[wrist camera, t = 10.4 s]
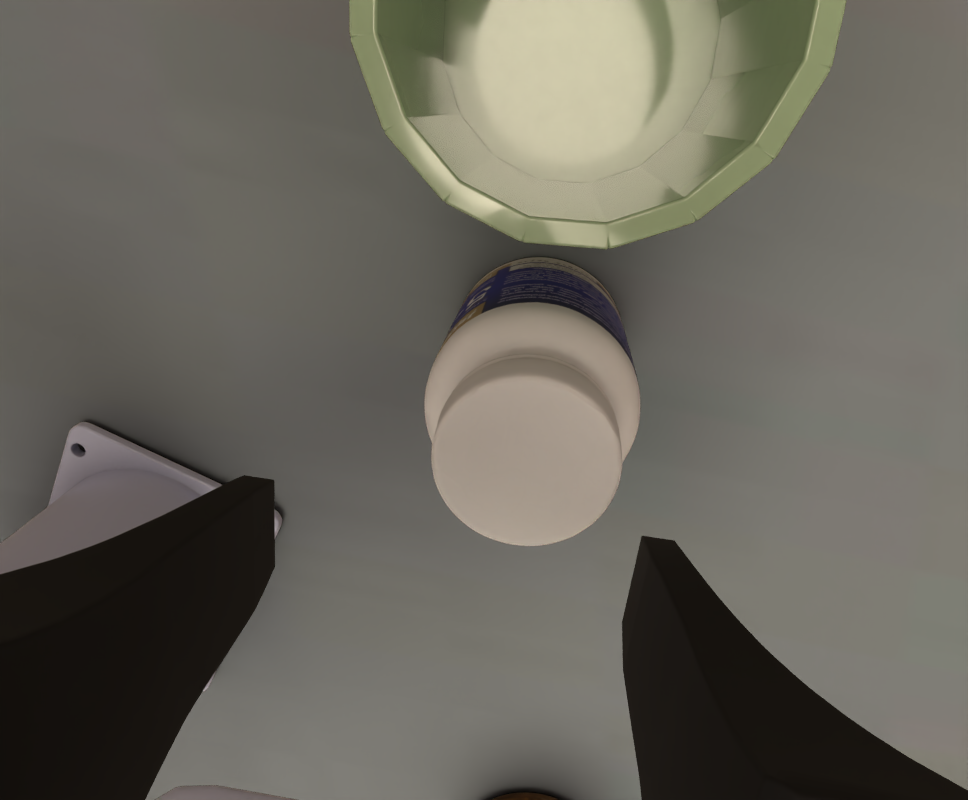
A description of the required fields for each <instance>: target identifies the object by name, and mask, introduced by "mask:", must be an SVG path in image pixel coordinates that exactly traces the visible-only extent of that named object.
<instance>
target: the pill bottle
mask: <svg viewBox="0 0 968 800" xmlns="http://www.w3.org/2000/svg"><path fill="white" fill-rule="evenodd" d="M424 408H425V420H426V425H427V430H428V433H429V436H430V439H431V441H432V450H431V462H432V471H433V476H434V480H435V483H436V486H437V488H438V490H439V492H440V495H441V497H442V498H443V500H444V501H445V503H446V505H447V506H448V508H449V509H450V510H451V511H452V512H453V514H454V515H456V516H457V517H458V518H459V519H460V520H461V521H462V522H463V523H464V524H466V525H467V526H468V527H470V528H471V529H473V530H474V531H476V532H478V533H479V534H482V535H484V536H486V537H488V538H491V539H493V540H496V541H500V542H502V543H507V544H513V545H522V546H537V545H546V544H551V543H555V542H559V541H562V540H565V539H568V538H570V537H572V536H574V535H576V534H578V533H580V532H581V531H583V530H584V529H586V528H587V527H589V526H590V525H591V524H593V523H594V522H595V521H596V520H597V519H598V518H599V517H600V516H601V515H602V514H603V512H604V511H605V510H606V509H607V507H608V506H609V504H610V502H611V501H612V499H613V497H614V495H615V493H616V491H617V488H618V485H619V482H620V477H621V472H622V462H623V461H624V459H625V458H626V456H627V454H628V452H629V451H630V449H631V446H632V444H633V442H634V439H635V436H636V433H637V430H638V425H639V419H640V409H641V408H640V391H639V385H638V380H637V375H636V371H635V368H634V364H633V360H632V357H631V353H630V349H629V346H628V343H627V339H626V335H625V332H624V328H623V324H622V321H621V317H620V314H619V312H618V309H617V307H616V305H615V303H614V301H613V299H612V298H611V296H610V294H609V293H608V291H607V290H606V289H605V288H604V286H603V285H602V284H601V283H600V282H599V281H598V280H597V279H596V278H594V277H593V276H592V275H591V274H589V273H588V272H586V271H585V270H583V269H582V268H580V267H578V266H576V265H573V264H571V263H568V262H566V261H563V260H559V259H554V258H546V257H531V258H524V259H519V260H515V261H512V262H509V263H506V264H504V265H502V266H500V267H498V268H496V269H494V270H493V271H491V272H490V273H488V274H487V275H486V276H484V277H483V278H482V279H481V280H480V281H479V282H478V283H477V284H476V285H475V286H474V287H473V289H472V290H471V291H470V293H469V294H468V296H467V298H466V299H465V301H464V302H463V304H462V307H461V308H460V310H459V312H458V314H457V316H456V318H455V320H454V322H453V324H452V326H451V328H450V330H449V332H448V334H447V336H446V338H445V340H444V343H443V345H442V347H441V349H440V351H439V353H438V355H437V357H436V359H435V361H434V364H433V366H432V369H431V371H430V374H429V378H428V381H427V386H426V391H425V402H424Z"/></svg>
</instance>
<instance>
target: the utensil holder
mask: <svg viewBox="0 0 968 800" xmlns="http://www.w3.org/2000/svg"><path fill="white" fill-rule="evenodd" d="M492 800H559V799H557V798H554V797H551V796H547V795H543V794H538V793H511V794H506V795H502V796H499V797H496V798H494V799H492Z"/></svg>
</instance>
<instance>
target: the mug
mask: <svg viewBox="0 0 968 800" xmlns="http://www.w3.org/2000/svg"><path fill="white" fill-rule="evenodd" d="M846 2H847V0H349V34H350V37H352V38H351V43H352V46H353V49H354V52H355V54H356V57H357V60H358V63H359V65H360V68H361V71H362V74H363V77H364V79H365V82H366V85H367V88H368V90H369V93H370V96H371V99H372V101H373V104H374V107H375V110H376V112H377V115H378V118H379V121H380V123H381V126H382V129H383V130H384V131H385V134H386V136H387V137H388V138H389V139H390V140H391V142H392V143H393V144H394V145H395V146H396V147H397V149H398V150H399V151H400V152H401V153H402V154H403V156H404V157H405V158H406V159H407V160H408V161H409V163H410V164H411V165H412V166H413V167H414V168H415V170H416V171H417V172H418V173H419V174H420V175H421V177H422V178H423V179H424V180H425V181H426V182H427V184H428V185H429V186H430V187H431V188H432V189H433V191H434V192H435V193H436V194H437V195H438V196H439V198H440V199H441V200H442V201H445V203H446V204H448V205H450V206H452V207H454V208H455V209H457V210H459V211H461V212H463V213H465V214H467V215H469V216H471V217H473V218H475V219H477V220H479V221H481V222H482V223H484V224H486V225H488V226H490V227H492V228H494V229H496V230H498V231H500V232H502V233H504V234H506V235H508V236H510V237H511V238H513V239H515V240H517V241H522V242H524V243H531V244H543V245H556V246H568V247H580V248H592V249H608V248H609V249H613V248H616V247H619V246H622V245H625V244H629V243H632V242H635V241H638V240H641V239H644V238H648V237H651V236H654V235H657V234H660V233H663V232H667V231H670V230H673V229H676V228H679V227H682V226H686V225H689V224H692V223H694V222H695V220H696V221H697V220H699V219H701V218H702V217H703V216H705V215H706V214H707V213H708V212H710V211H711V210H712V209H713V208H715V207H716V206H717V205H718V204H720V203H721V202H722V201H724V200H725V199H726V198H727V197H729V196H730V195H731V194H732V193H734V192H735V191H736V190H737V189H739V188H740V187H741V186H743V185H744V184H745V183H746V182H748V181H749V180H750V179H751V178H753V177H754V176H755V175H756V174H758V173H759V172H760V171H761V170H763V169H764V168H765V167H767V166H768V165H769V164H770V163H771V162H772V161H773V160H772V159H775V158H776V157H777V155H778V154H779V152H780V150H781V149H782V147H783V146H784V144H785V142H786V141H787V139H788V138H789V136H790V134H791V133H792V131H793V130H794V128H795V126H796V125H797V123H798V122H799V120H800V118H801V117H802V115H803V114H804V112H805V110H806V109H807V107H808V106H809V104H810V102H811V101H812V99H813V98H814V96H815V94H816V93H817V91H818V90H819V88H820V86H821V85H822V83H823V82H824V80H825V78H826V77H827V75H828V74H829V72H830V68H831V66H832V64H833V60H834V55H835V51H836V46H837V42H838V37H839V33H840V29H841V24H842V20H843V15H844V11H845V6H846Z"/></svg>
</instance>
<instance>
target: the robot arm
mask: <svg viewBox="0 0 968 800" xmlns="http://www.w3.org/2000/svg"><path fill="white" fill-rule="evenodd" d="M78 444H80V445H82V446H83V447H84V449H85V452H84V451H82V450H81V449H80V448H79V446H78ZM281 524H282V518H281V515H280V514H279V513H278V511H276V510H275V509H274V480H271V479H265V478H258V477H251V476H245V475H244V476H242V477H239V478H237V479H234V480H232V481H230V482H228V483H226V484H224V485H222V484H220V483H217V482H215V481H213V480H211V479H209V478H207V477H205V476H202V475H200V474H198V473H196V472H194V471H192V470H190V469H187V468H185V467H183V466H181V465H179V464H177V463H175V462H172V461H170V460H168V459H166V458H164V457H162V456H160V455H157V454H155V453H153V452H151V451H149V450H147V449H145V448H142V447H140V446H138V445H136V444H134V443H132V442H130V441H127V440H125V439H123V438H121V437H119V436H117V435H115V434H112V433H110V432H108V431H106V430H104V429H102V428H100V427H97V426H95V425H93V424H91V423H87V422H80V423H79V424H77V425H75V426H74V427H72V428H71V429H70V431H69V433H68V437H67V441H66V444H65V448H64V451H63V455H62V458H61V462H60V465H59V469H58V472H57V476H56V480H55V483H54V487H53V490H52V494H51V497H50V501H49V504H48V507H47V508H46V509H44V510H43V511H42V512H40V513H39V514H38V515H37V516H35V517H34V518H33V519H31V520H30V521H29V522H28V523H26V524H25V525H24V526H22V527H21V528H20V529H18V530H17V531H16V532H15V533H13V534H12V535H11V536H9V537H8V538H7V539H6V540H4V541H3V542H2V543H0V800H145V799H146V797H147V795H148V793H149V790H150V788H151V786H152V784H153V782H154V780H155V778H156V776H157V774H158V772H159V770H160V768H161V766H162V764H163V762H164V760H165V758H166V756H167V754H168V752H169V750H170V748H171V746H172V744H173V742H174V740H175V738H176V736H177V734H178V732H179V730H180V728H181V726H182V724H183V723H184V721H185V719H186V717H187V716H188V714H189V712H190V711H191V709H192V707H193V706H194V704H195V702H196V701H197V699H198V697H199V696H200V694H201V693H202V692H203V691H205V690H206V689H207V688H208V687H209V685H210V684H211V682H212V680H213V677H214V675H215V673H216V671H217V668H218V667H219V665H220V664H221V662H222V661H223V659H224V657H225V656H226V654H227V653H228V651H229V650H230V648H231V647H232V645H233V644H234V642H235V641H236V639H237V637H238V636H239V634H240V633H241V631H242V630H243V628H244V626H245V625H246V623H247V622H248V620H249V619H250V617H251V615H252V614H253V612H254V610H255V609H256V607H257V605H258V602H259V600H260V598H261V596H262V594H263V592H264V590H265V588H266V585H267V583H268V581H269V579H270V576H271V574H272V572H273V570H274V567H275V538H276V536H277V534H278V531H279V529H280V527H281ZM622 641H623V672H624V679H625V686H626V693H627V699H628V706H629V713H630V719H631V726H632V732H633V739H634V745H635V752H636V758H637V765H638V771H639V778H640V787H641V797H642V800H968V790H966V789H964V788H962V787H960V786H959V785H957V784H955V783H953V782H952V781H950V780H948V779H946V778H944V777H943V776H941V775H939V774H937V773H935V772H934V771H932V770H930V769H928V768H926V767H925V766H923V765H921V764H919V763H918V762H916V761H914V760H912V759H910V758H909V757H907V756H906V755H904V754H902V753H901V752H899V751H898V750H896V749H895V748H893V747H891V746H890V745H888V744H887V743H885V742H884V741H882V740H881V739H879V738H877V737H876V736H874V735H873V734H871V733H870V732H868V731H867V730H865V729H864V728H862V727H861V726H860V725H858V724H857V723H855V722H854V721H852V720H851V719H850V718H848V717H847V716H845V715H844V714H843V713H841V712H840V711H839V710H837V709H836V708H835V707H834V706H832V705H831V704H830V703H828V702H827V701H826V700H824V699H823V698H822V697H820V696H819V695H818V694H816V693H815V692H814V691H813V690H812V689H810V688H809V687H808V686H807V685H805V684H804V683H803V682H802V681H801V680H799V679H798V678H797V677H796V676H795V675H794V674H793V673H792V672H790V671H789V670H788V669H787V668H786V667H785V666H784V665H783V664H782V663H780V662H779V661H778V660H777V659H776V658H775V657H774V656H773V655H772V654H771V653H770V652H769V651H768V650H767V649H765V648H764V647H763V646H762V645H761V644H760V643H759V642H758V640H757V639H756V638H755V637H754V636H753V635H752V634H751V633H750V632H749V631H748V630H747V629H746V628H745V627H744V626H743V625H742V624H741V623H740V621H739V620H738V619H737V618H736V617H735V616H734V615H733V614H732V612H731V611H730V610H729V609H728V608H727V607H726V606H725V604H724V603H723V602H722V601H721V600H720V598H719V597H718V596H717V595H716V594H715V592H714V591H713V590H712V589H711V587H710V586H709V585H708V584H707V582H706V581H705V580H704V579H703V577H702V576H701V575H700V573H699V572H698V571H697V570H696V568H695V567H694V566H693V564H692V563H691V562H690V560H689V559H688V558H687V557H686V555H685V554H684V553H683V551H682V550H681V549H680V547H679V546H678V545H677V544H676V542H675V541H673V540H666V539H660V538H653V537H647V536H642V537H641V542H640V546H639V551H638V555H637V559H636V564H635V568H634V573H633V577H632V581H631V586H630V590H629V595H628V599H627V603H626V608H625V612H624V617H623V621H622ZM155 800H297V799H291V798H285V797H280V796H274V795H269V794H263V793H257V792H252V791H246V790H241V789H235V788H230V787H224V786H218V785H206V786H180V787H175V788H174V789H172V790H170V791H169V792H167V793H165V794H163V795H162V796H160V797H158V798H157V799H155Z"/></svg>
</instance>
